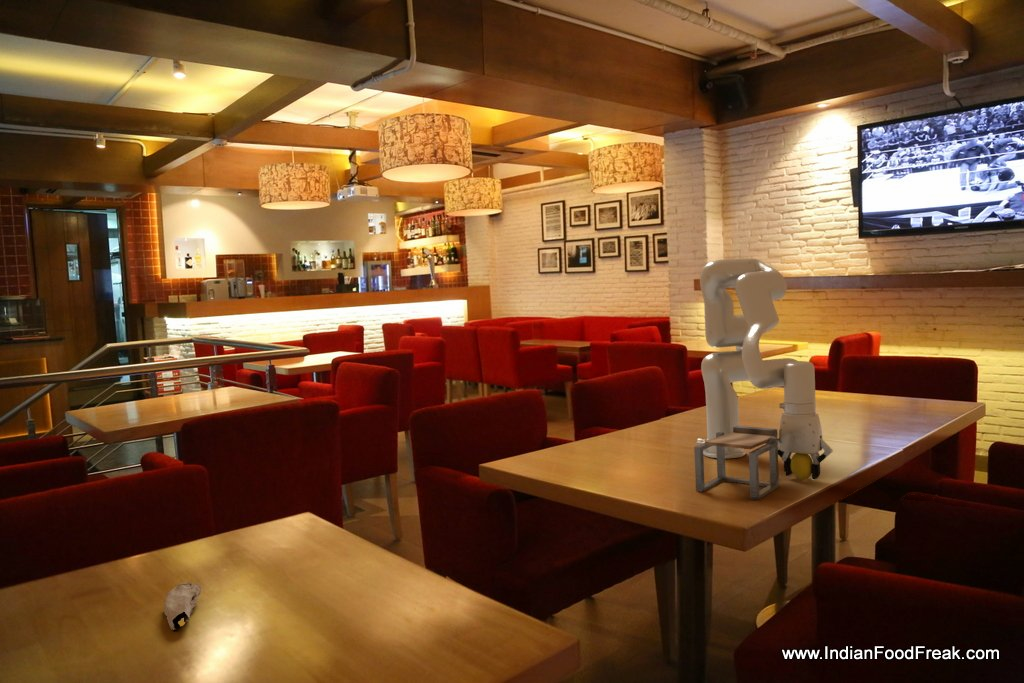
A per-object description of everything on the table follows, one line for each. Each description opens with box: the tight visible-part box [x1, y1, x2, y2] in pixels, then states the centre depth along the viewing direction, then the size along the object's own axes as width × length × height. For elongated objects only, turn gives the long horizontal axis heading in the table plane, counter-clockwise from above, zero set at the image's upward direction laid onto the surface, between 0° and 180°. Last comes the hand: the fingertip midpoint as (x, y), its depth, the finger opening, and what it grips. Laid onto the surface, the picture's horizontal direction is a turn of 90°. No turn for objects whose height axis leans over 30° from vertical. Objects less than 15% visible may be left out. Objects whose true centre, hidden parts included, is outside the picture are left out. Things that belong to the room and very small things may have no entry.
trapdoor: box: [705, 425, 779, 450], centre depth 188 cm, size 12×19×4 cm, turn 139°
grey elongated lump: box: [163, 581, 202, 630], centre depth 128 cm, size 14×6×5 cm, turn 18°
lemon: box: [790, 453, 813, 482], centre depth 190 cm, size 6×6×8 cm
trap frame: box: [694, 432, 780, 501], centre depth 186 cm, size 16×14×13 cm
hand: (802, 476), depth 190 cm, fingers open, 6 cm apart
